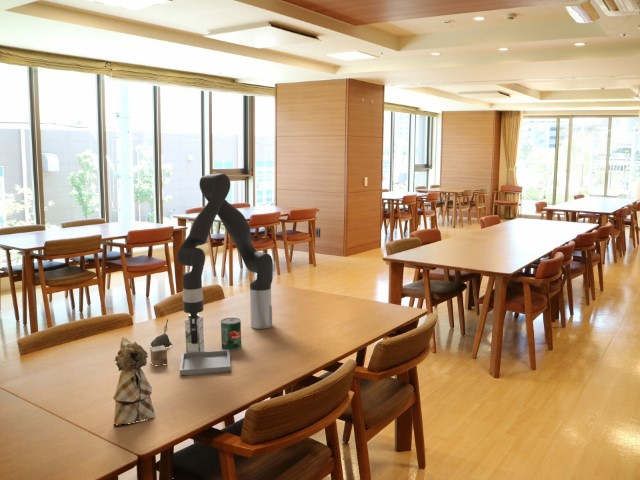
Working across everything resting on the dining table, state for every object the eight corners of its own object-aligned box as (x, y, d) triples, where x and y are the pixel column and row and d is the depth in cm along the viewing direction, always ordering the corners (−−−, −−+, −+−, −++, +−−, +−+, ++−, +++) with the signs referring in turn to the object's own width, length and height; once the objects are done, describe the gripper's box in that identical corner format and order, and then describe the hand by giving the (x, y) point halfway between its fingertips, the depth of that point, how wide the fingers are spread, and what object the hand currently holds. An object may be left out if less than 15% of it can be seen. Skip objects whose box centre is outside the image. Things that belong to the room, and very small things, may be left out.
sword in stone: (144, 347, 239) (143, 317, 238) (160, 342, 246) (159, 314, 244) (161, 351, 233) (160, 322, 232) (176, 346, 240) (176, 317, 238)
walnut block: (164, 360, 223) (163, 345, 222) (167, 365, 219) (166, 349, 218) (151, 362, 221) (150, 347, 220) (153, 367, 217) (152, 351, 216)
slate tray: (229, 355, 228) (229, 349, 228) (230, 372, 211) (230, 366, 211) (182, 358, 225) (182, 352, 225) (180, 376, 208) (179, 370, 208)
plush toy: (170, 402, 185) (147, 328, 180) (160, 424, 171) (135, 344, 166) (126, 412, 185) (102, 338, 180) (113, 435, 171) (86, 356, 167)
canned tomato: (237, 351, 233) (236, 324, 231) (218, 349, 234) (217, 322, 233) (244, 344, 241) (243, 318, 239) (225, 343, 242) (224, 317, 240)
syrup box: (204, 351, 233) (203, 315, 230) (200, 356, 227) (198, 320, 225) (190, 351, 233) (189, 315, 231) (185, 356, 228) (184, 319, 225)
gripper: (202, 303, 220) (204, 345, 223) (203, 293, 234) (204, 333, 237) (182, 304, 219) (184, 346, 222) (183, 295, 233) (185, 334, 236)
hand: (194, 339), depth 229 cm, fingers open, 8 cm apart
